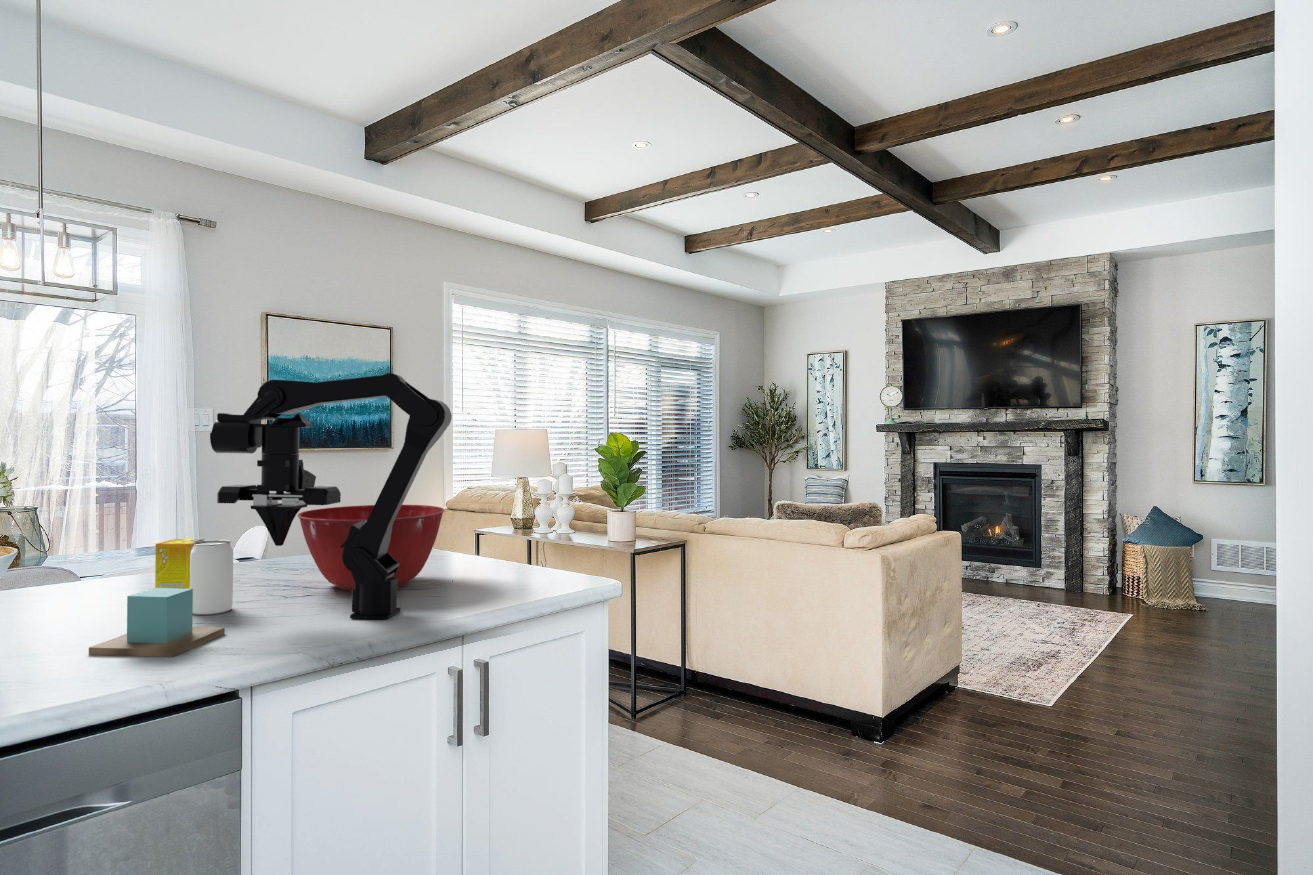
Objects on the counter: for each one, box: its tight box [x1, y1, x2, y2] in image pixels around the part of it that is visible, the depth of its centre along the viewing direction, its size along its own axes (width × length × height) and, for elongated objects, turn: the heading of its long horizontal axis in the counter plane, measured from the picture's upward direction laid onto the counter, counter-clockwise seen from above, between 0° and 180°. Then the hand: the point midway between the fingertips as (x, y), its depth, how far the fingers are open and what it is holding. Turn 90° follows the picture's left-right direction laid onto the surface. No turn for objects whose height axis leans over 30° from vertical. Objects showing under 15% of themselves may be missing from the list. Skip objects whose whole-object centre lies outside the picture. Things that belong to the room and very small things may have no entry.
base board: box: [88, 626, 226, 658], centre depth 111 cm, size 12×12×1 cm
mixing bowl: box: [296, 504, 445, 592], centre depth 156 cm, size 28×28×16 cm
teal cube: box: [126, 587, 194, 643], centre depth 111 cm, size 6×6×7 cm
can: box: [190, 539, 234, 616], centre depth 132 cm, size 6×6×12 cm
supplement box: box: [154, 538, 206, 589], centre depth 140 cm, size 6×6×11 cm
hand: (279, 545), depth 129 cm, fingers closed
